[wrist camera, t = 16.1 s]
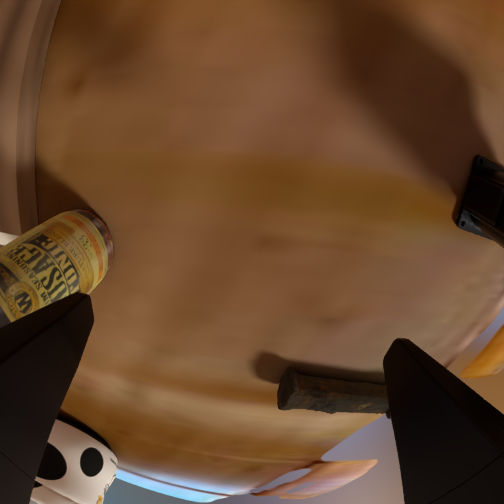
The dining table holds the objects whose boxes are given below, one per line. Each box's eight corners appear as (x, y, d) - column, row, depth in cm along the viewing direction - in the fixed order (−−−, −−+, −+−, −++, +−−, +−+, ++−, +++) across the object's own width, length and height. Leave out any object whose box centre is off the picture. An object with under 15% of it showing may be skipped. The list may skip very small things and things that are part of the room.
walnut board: (78, -41, 9) (63, -51, 7) (51, 296, 23) (37, 311, 21) (23, -19, 9) (7, -25, 7) (6, 281, 23) (-7, 294, 20)
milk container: (127, 465, 42) (110, 535, 25) (54, 436, 40) (30, 499, 24) (114, 430, 34) (86, 525, 18) (27, 394, 33) (-11, 470, 17)
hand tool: (272, 384, 28) (274, 421, 24) (288, 360, 26) (292, 399, 22) (403, 399, 30) (414, 426, 26) (422, 380, 29) (435, 407, 25)
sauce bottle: (131, 260, 21) (-6, 502, 3) (81, 283, 22) (-41, 468, 4) (92, 187, 19) (-131, 371, 1) (44, 219, 20) (-122, 374, 2)
